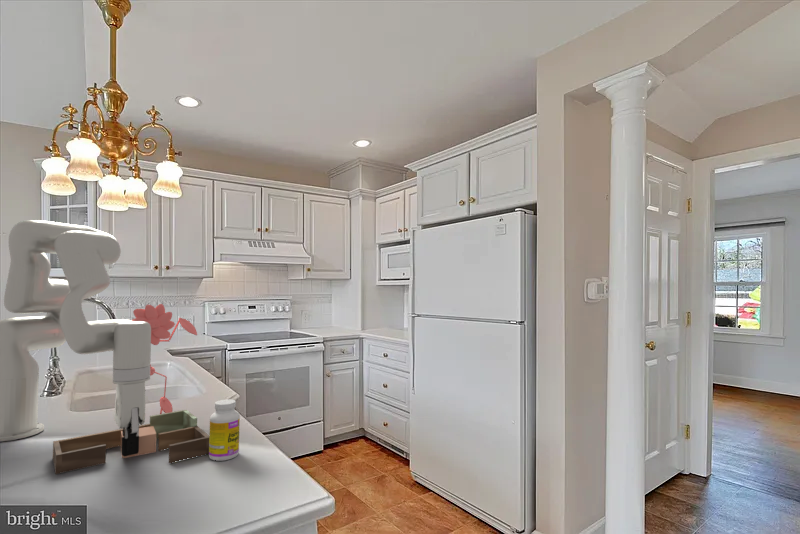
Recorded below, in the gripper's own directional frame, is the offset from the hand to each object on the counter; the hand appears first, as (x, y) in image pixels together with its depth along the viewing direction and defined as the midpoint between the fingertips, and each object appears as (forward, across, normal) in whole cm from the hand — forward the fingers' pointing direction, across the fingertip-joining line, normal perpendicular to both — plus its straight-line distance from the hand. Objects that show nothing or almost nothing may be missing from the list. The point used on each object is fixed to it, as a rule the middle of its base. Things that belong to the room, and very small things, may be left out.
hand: (130, 453), depth 102 cm
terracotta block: (+2, -6, +3) cm, 6 cm away
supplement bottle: (+2, +12, +18) cm, 21 cm away
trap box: (+1, -2, +1) cm, 3 cm away
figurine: (+2, -27, +9) cm, 29 cm away
